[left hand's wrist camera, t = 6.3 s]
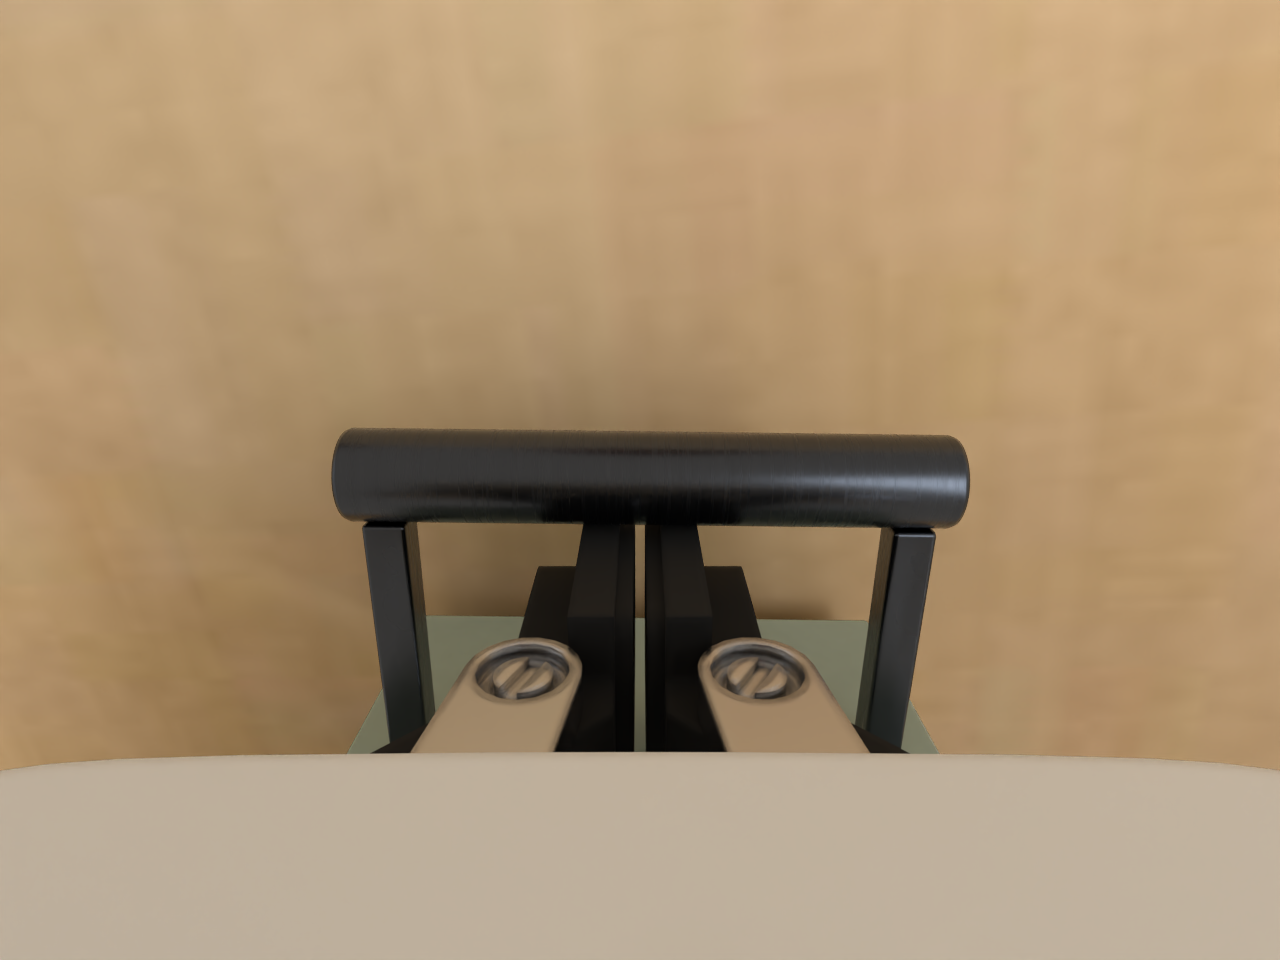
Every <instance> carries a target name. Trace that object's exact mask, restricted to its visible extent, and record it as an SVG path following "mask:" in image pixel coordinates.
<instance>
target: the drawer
mask: <svg viewBox="0 0 1280 960" xmlns="http://www.w3.org/2000/svg"><path fill="white" fill-rule="evenodd" d="M332 491H333V496H334V501H335V504H336V507H337V509H338V511H339V513H340V514H341V515H342V516H343V517H344V518H346V519H348V520H350V521H365V522H366V523H365V524H364V525H363V528H362V530H363V538H364V546H365V554H366V562H367V570H368V577H369V585H370V593H371V601H372V609H373V617H374V625H375V632H376V640H377V648H378V656H379V664H380V672H381V679H382V687H383V688H382V690H381V691H380V693H379V695H378V697H377V699H376V701H375V703H374V704H373V706H372V708H371V710H370V712H369V714H368V715H367V717H366V719H365V721H364V723H363V725H362V727H361V728H360V730H359V732H358V734H357V736H356V738H355V739H354V741H353V743H352V745H351V747H350V749H349V750H348V752H347V754H370V753H372V752H374V751H376V750H377V749H379V748H381V747H383V746H385V745H387V744H389V743H391V742H393V741H395V740H397V739H399V738H401V737H402V736H404V735H406V734H408V733H410V732H412V731H414V730H416V729H418V728H420V727H422V726H424V725H425V724H427V723H429V722H430V721H431V719H432V717H433V716H434V714H435V713H436V711H437V710H438V708H439V706H440V705H441V703H442V702H443V700H444V699H445V697H446V695H447V694H448V692H449V691H450V689H451V687H452V686H453V684H454V683H455V681H456V680H457V678H458V676H459V675H460V673H461V672H462V670H463V669H464V667H465V665H466V664H467V663H468V662H469V661H470V660H471V659H472V658H473V656H474V655H476V654H477V653H479V652H480V651H482V650H484V649H485V648H487V647H488V646H491V645H494V644H497V643H499V642H502V641H505V640H511V639H517V638H518V637H519V634H520V630H521V627H522V623H523V619H524V617H521V616H435V615H426V611H425V601H424V591H423V581H422V571H421V561H420V551H419V541H418V531H417V522H449V523H532V524H615V525H698V526H782V527H865V528H881V536H880V543H879V550H878V558H877V565H876V572H875V580H874V587H873V594H872V602H871V609H870V617H869V624H868V623H867V621H863V620H778V619H757V623H758V627H759V630H760V634H761V637H762V638H763V639H769V640H775V641H778V642H781V643H783V644H786V645H789V646H792V647H793V648H795V649H796V650H798V651H800V652H801V653H803V654H804V655H806V656H807V658H808V659H809V660H810V661H811V662H812V663H813V664H814V665H815V667H816V669H817V670H818V672H819V673H820V675H821V676H822V678H823V680H824V681H825V683H826V684H827V686H828V687H829V689H830V691H831V692H832V694H833V695H834V697H835V699H836V700H837V702H838V703H839V705H840V706H841V708H842V710H843V711H844V713H845V714H846V716H847V717H848V719H849V721H850V722H851V723H853V724H854V725H856V726H858V727H860V728H862V729H864V730H866V731H868V732H870V733H872V734H874V735H876V736H878V737H879V738H881V739H883V740H885V741H887V742H889V743H891V744H893V745H895V746H897V747H899V748H901V749H903V750H904V751H906V752H908V753H910V754H939V752H938V750H937V748H936V747H935V745H934V743H933V741H932V739H931V737H930V736H929V734H928V732H927V730H926V728H925V726H924V725H923V723H922V721H921V719H920V717H919V716H918V714H917V712H916V710H915V708H914V706H913V705H912V703H911V701H910V699H909V698H910V692H911V686H912V679H913V673H914V667H915V661H916V655H917V649H918V643H919V637H920V631H921V625H922V619H923V612H924V606H925V600H926V594H927V588H928V582H929V576H930V570H931V564H932V558H933V551H934V545H935V539H936V534H935V532H934V531H933V530H932V529H931V528H950V527H952V526H954V525H956V524H957V523H958V522H959V521H960V520H961V518H962V517H963V515H964V512H965V510H966V507H967V503H968V498H969V491H970V471H969V464H968V459H967V455H966V452H965V450H964V448H963V446H962V444H961V443H960V441H958V440H957V439H956V438H954V437H951V436H948V435H886V434H805V433H724V432H643V431H562V430H481V429H400V428H351V429H349V430H347V431H345V432H344V433H343V434H342V435H341V436H340V438H339V439H338V442H337V444H336V447H335V450H334V455H333V461H332ZM634 752H646V733H645V618H635V731H634Z"/></svg>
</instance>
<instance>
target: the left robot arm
mask: <svg viewBox="0 0 1280 960" xmlns="http://www.w3.org/2000/svg"><path fill="white" fill-rule="evenodd" d="M634 731H635V525H615V524H583V530H582V536H581V541H580V547H579V553H578V558H577V564H576V566H539V567H538V570H537V573H536V576H535V580H534V584H533V587H532V591H531V594H530V598H529V602H528V605H527V609H526V612H525V616H524V619H523V623H522V627H521V630H520V634H519V637H518V638H517V639H511V640H505V641H502V642H499V643H497V644H494V645H491V646H488V647H487V648H485V649H484V650H482V651H480V652H479V653H477V654H476V655H474V656H473V658H472V659H471V660H470V661H469V662H468V663H467V664H466V665H465V667H464V669H463V670H462V672H461V673H460V675H459V676H458V678H457V680H456V681H455V683H454V684H453V686H452V687H451V689H450V691H449V692H448V694H447V695H446V697H445V699H444V700H443V702H442V703H441V705H440V706H439V708H438V710H437V711H436V713H435V714H434V716H433V717H432V719H431V721H430V722H429V723H427V724H425V725H424V726H422V727H420V728H418V729H416V730H414V731H412V732H410V733H408V734H406V735H404V736H402V737H401V738H399V739H397V740H395V741H393V742H391V743H389V744H387V745H385V746H383V747H381V748H379V749H377V750H376V751H374V752H372V753H370V754H302V755H229V756H197V757H166V758H134V759H111V760H97V761H83V762H69V763H56V764H45V765H37V766H30V767H23V768H15V769H8V770H1V771H0V960H1280V771H1279V770H1274V769H1266V768H1258V767H1250V766H1242V765H1234V764H1225V763H1213V762H1198V761H1182V760H1166V759H1151V758H1117V757H1080V756H1044V755H995V754H910V753H908V752H906V751H904V750H903V749H901V748H899V747H897V746H895V745H893V744H891V743H889V742H887V741H885V740H883V739H881V738H879V737H878V736H876V735H874V734H872V733H870V732H868V731H866V730H864V729H862V728H860V727H858V726H856V725H854V724H853V723H851V722H850V721H849V719H848V717H847V716H846V714H845V713H844V711H843V710H842V708H841V706H840V705H839V703H838V702H837V700H836V699H835V697H834V695H833V694H832V692H831V691H830V689H829V687H828V686H827V684H826V683H825V681H824V680H823V678H822V676H821V675H820V673H819V672H818V670H817V669H816V667H815V665H814V664H813V663H812V662H811V661H810V660H809V659H808V658H807V656H806V655H804V654H803V653H801V652H800V651H798V650H796V649H795V648H793V647H792V646H789V645H786V644H783V643H781V642H778V641H775V640H769V639H763V638H762V637H761V634H760V630H759V627H758V623H757V619H756V616H755V612H754V609H753V605H752V602H751V598H750V594H749V591H748V587H747V584H746V580H745V577H744V573H743V570H742V567H741V566H704V564H703V558H702V553H701V547H700V541H699V536H698V530H697V525H645V733H646V752H634Z"/></svg>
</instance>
